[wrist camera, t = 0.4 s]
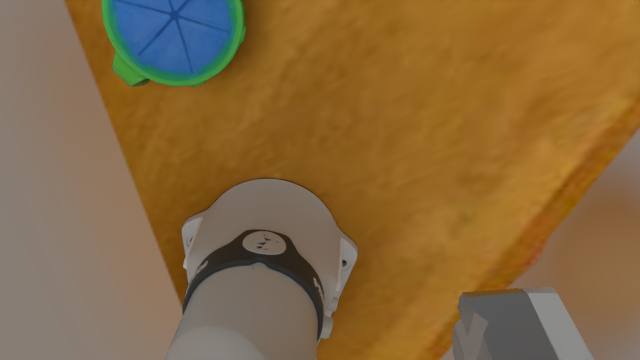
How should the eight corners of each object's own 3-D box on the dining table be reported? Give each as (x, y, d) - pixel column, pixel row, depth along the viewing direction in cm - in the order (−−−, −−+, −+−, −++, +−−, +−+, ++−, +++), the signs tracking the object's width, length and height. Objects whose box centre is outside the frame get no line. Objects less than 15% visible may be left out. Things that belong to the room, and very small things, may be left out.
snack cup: (227, -108, 46) (199, -122, 37) (306, -4, 49) (298, 7, 40) (101, 11, 50) (47, 26, 41) (181, 100, 53) (147, 133, 44)
